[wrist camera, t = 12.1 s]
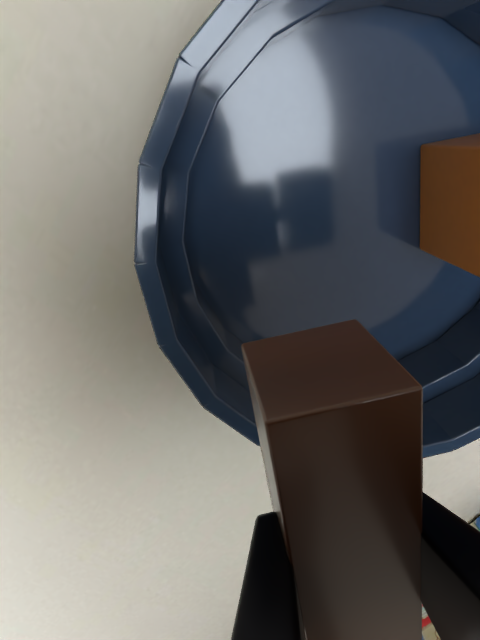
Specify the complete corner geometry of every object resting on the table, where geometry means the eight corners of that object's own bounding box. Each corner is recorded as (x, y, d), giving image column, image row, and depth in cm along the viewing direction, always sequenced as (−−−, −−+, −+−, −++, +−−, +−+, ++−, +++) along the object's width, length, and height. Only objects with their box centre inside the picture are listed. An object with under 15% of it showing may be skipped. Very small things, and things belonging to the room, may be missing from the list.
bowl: (527, 349, 21) (626, 410, 16) (200, 425, 20) (206, 510, 15) (579, -79, 14) (773, -183, 9) (87, 10, 13) (39, -55, 9)
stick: (372, 567, 11) (423, 677, 8) (288, 588, 11) (316, 706, 8) (356, 317, 8) (424, 385, 6) (240, 343, 8) (263, 423, 6)
